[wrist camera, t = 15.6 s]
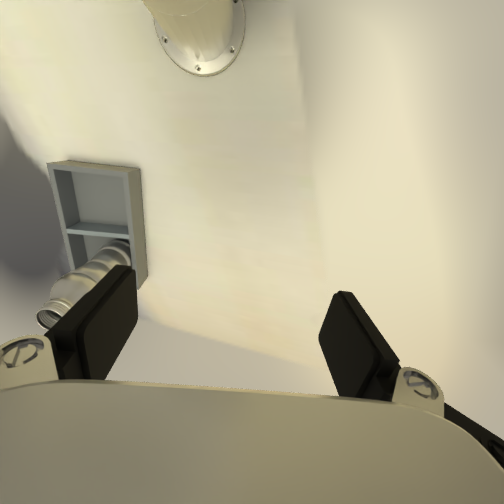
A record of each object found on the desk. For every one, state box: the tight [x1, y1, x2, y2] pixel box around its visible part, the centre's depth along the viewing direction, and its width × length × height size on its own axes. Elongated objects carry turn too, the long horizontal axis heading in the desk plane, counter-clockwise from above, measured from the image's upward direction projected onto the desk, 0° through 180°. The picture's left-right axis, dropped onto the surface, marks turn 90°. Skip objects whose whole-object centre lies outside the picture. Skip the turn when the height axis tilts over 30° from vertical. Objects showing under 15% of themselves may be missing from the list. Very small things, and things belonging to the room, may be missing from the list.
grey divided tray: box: [47, 161, 148, 290], centre depth 44 cm, size 22×12×5 cm, turn 173°
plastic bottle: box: [35, 240, 132, 330], centre depth 39 cm, size 6×7×20 cm
